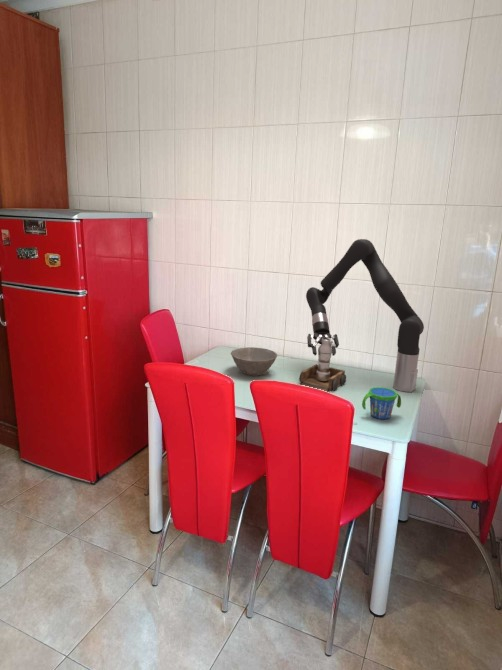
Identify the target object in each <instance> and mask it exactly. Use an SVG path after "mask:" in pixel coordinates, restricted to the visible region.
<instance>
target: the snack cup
mask: <svg viewBox="0 0 502 670" xmlns="http://www.w3.org/2000/svg"><path fill="white" fill-rule="evenodd" d="M368 399H369V406H370V407H369V409H370V415H371V416H372V417H373V418H376V419H377V418H378V419H377V420H387V419H390V418H391V415H392V412H393V409H394V405H395V402H396V407H397V408H401V407H402V397H401V395H400V393H397V392H396V391H395V390H394V389H391V388H388V387H383V386H382V387H379V386H377V387H371V388H370V389H369V390H368V393H366V394H365V395H364V397H363V398H362V401H361V402H362V403H361V406H362V409H363V410H366V409H367V408H366V401H367V400H368ZM396 399H397V401H396Z"/></svg>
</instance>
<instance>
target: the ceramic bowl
mask: <svg viewBox="0 0 502 670" xmlns="http://www.w3.org/2000/svg"><path fill="white" fill-rule="evenodd" d="M230 355H231V357H232V360H233V362H234V364H235V365H236V367H237V368H238V370H239V371H240V372H242V374H245V375H247V376H252V377H255V376H261V375H264V374H265V373H267V372H268V371H269V369H270V368H271V367H272V365H273V364H274V363H275V361H276V359H277V358H278V354H277V353H276V352H275V351H273V350H270V349H268V348H265V347H264V348H263V347H254V346H253V347H250V346H249V347H241V348H236V349H232V351H230Z"/></svg>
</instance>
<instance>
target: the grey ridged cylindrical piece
mask: <svg viewBox="0 0 502 670" xmlns="http://www.w3.org/2000/svg"><path fill="white" fill-rule="evenodd" d="M329 344H330V339H329V338H322V344H319V346H318V347H317V348H318V349H317V358H318V360H317V365H318V368H317V372H316V378H317V380H319V381H328V380H329V378H330V368H331V365H330V364H331V358H332V348H331V346H330V345H329Z"/></svg>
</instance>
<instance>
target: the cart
mask: <svg viewBox="0 0 502 670" xmlns="http://www.w3.org/2000/svg"><path fill="white" fill-rule="evenodd" d="M317 368H318V363H316V364H314V365H312V366H310V367H307V368H306V369H304V370H301V372H300V375H299V379H298V381H299V382H300V385H305V386H309V387H313V388H317V389H321V390H324V391H327V392H326V393H328V392H329V391H331V392H333V391H334V392H335V390H336V391H337V390H338V388H339V387H340V386H345V384H346V382H347V375H346V370H343V369H338V368H334V367H330V378H329V380H328V381H319V380H317V378H316V372H317ZM332 390H333V391H332Z"/></svg>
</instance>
